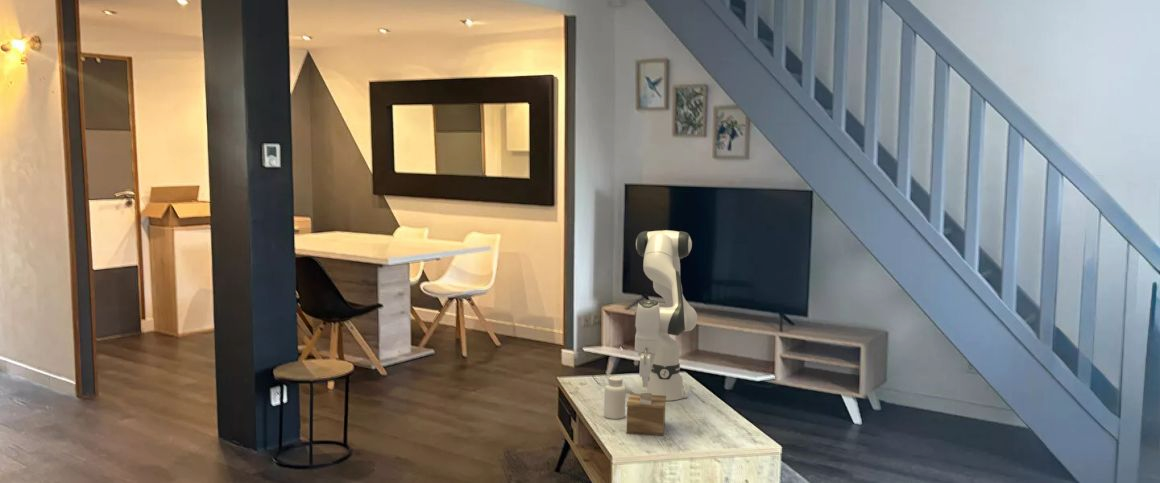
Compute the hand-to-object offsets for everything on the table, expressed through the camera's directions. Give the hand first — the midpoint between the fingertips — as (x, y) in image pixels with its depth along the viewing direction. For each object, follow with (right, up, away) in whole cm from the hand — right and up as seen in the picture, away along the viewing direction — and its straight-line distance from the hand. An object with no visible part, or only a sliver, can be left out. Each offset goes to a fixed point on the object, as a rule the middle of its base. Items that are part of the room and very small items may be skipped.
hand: (646, 383), depth 327 cm
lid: (+1, -8, +6) cm, 10 cm away
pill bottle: (-10, -16, +22) cm, 29 cm away
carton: (+1, -18, +7) cm, 19 cm away
